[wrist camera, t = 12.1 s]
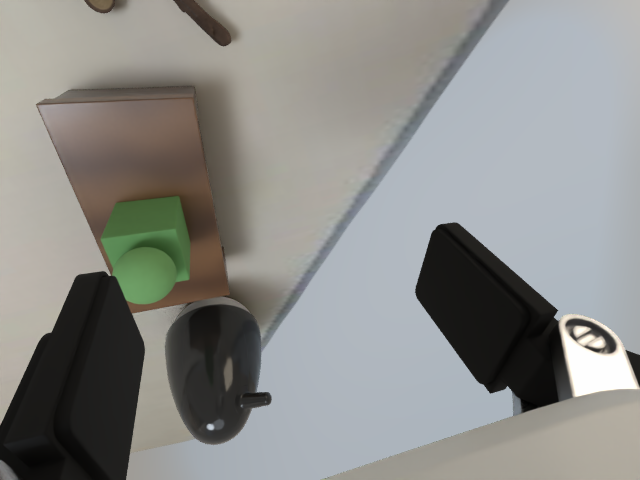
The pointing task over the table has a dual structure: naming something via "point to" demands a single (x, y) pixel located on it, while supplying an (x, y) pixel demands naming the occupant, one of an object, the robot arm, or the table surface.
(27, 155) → the table surface
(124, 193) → the bench
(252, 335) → the pump dispenser
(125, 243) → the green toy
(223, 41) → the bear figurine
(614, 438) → the robot arm
